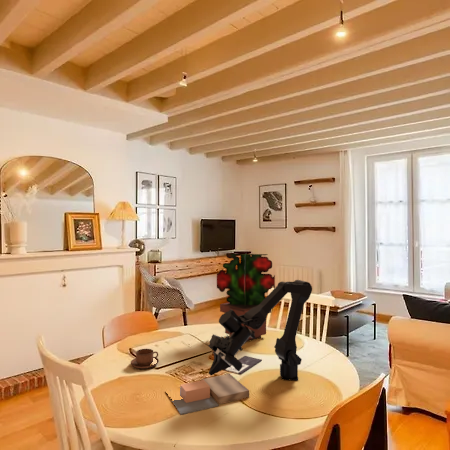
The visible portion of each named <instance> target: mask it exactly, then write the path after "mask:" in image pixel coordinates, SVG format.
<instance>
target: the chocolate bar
mask: <svg viewBox="0 0 450 450" xmlns="http://www.w3.org/2000/svg"><path fill="white" fill-rule="evenodd" d="M237 359H238V358H237ZM238 360H239V361H240V362H241V363H242V368H241V370H240V371H237V370H236V369H235V368H234V367H233V366H232V365H231V364H230V366H231V367H228V368H226V369H224V370H223V371H225V372H230V373H234V374H238V375H242V374H244V373H246V372H247V371H249V370H251V369H252V368H254V367H255V366H257V365H258V364H259V363H261V362H262V361H263V360H262V359H260V358H256V357H252V356H247V355H244V356H242V357H239V359H238Z"/></svg>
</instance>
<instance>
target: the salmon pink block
mask: <svg viewBox="0 0 450 450" xmlns="http://www.w3.org/2000/svg"><path fill="white" fill-rule="evenodd" d="M179 388H180V396H181V397H182V398H183V400H184V401H185V402H186V403H188V402H193V401H197V400H202V399H206V398H210V386H209V385H208V384H207V383H206V382H205V381H204V380H197V381H191V382H186V383H182V384H180V387H179Z"/></svg>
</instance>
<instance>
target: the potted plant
mask: <svg viewBox="0 0 450 450" xmlns="http://www.w3.org/2000/svg"><path fill="white" fill-rule="evenodd" d="M239 256H240V257H239ZM267 256H268V254H267V253H266V254H264V253H259V254H258V253H250V254H249V253H226V258H228V259H231V260H230V262H225V263H223V264H222V267H223V269H221V270H219V271H218V273H217V272H216V289H218V290H219V291H220V292H221V293H223V292H225V290H226V289H227V291H226V295H227V296H228V297H226V302H225V303H220V304H219V312H221V313H223V314H224V313H226V312H228V311H229V310H230V309H231V310H233V311H234V312H235V313H236V314H237V315H238V316H240V315H244V314H245V313H246V312H247V311H249V310H250V309H251V308H253V307H256V306H258V305H259V304H260V303H261V302H262V301H263V300H264V299H265V298H266V297H267V296H266V294H267V293H268V292H269V291H270V290H271V289H272V288H273V290H274V289H275V288H276V286H275V285H276V281H275V280H276V275H275V274H273V275H272V274H271V273H268V272H269V270H270V269H272V268H273V262H272V260H270V259H269V257H267ZM224 269H225V270H226V271H225V270H224ZM228 289H229V290H228ZM271 313H272V310H271V311H270V312H269V313H268V314H271ZM241 325H242V326H246V325H244V324H241ZM246 327H248V328H249V329H250V330H253V331H255V340H257V338H258V339H261V338H262V336H264V335H267V320H266V321H265V322H264V323H263V325H262V326H261V327H260V328H259V329H252V328H251V327H249V326H246ZM224 333H225V334H227V335H228V336H229V337H230V336H231V335H232V333H233V332H232V333H229V332H228V331H227V330H226V329H225V328H224ZM250 340H251V341H254V340H253V338H251V337H249V338H248V339H247V341H246V342H245V343H247V342H250Z"/></svg>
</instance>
